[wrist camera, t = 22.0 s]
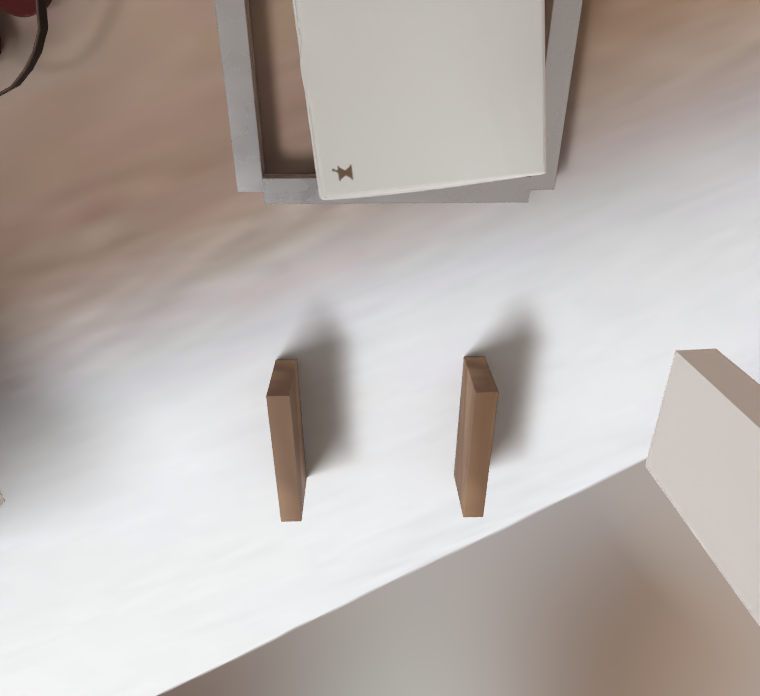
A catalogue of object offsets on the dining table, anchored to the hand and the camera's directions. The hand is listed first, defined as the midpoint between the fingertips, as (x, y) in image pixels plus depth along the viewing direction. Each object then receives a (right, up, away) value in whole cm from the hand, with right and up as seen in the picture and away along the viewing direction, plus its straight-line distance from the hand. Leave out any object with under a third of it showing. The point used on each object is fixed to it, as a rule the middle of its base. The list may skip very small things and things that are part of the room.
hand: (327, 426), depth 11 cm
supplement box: (+2, +16, +23) cm, 28 cm away
